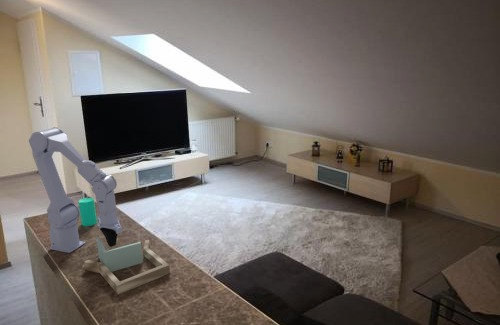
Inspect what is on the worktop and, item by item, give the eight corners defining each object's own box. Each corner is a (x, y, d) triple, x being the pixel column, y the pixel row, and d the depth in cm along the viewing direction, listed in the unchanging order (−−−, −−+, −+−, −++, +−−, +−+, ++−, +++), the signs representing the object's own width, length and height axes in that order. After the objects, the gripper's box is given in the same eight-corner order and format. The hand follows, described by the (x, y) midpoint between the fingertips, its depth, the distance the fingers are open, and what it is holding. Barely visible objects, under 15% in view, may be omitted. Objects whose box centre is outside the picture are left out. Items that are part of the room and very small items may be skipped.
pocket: (85, 269, 124) (83, 261, 123) (149, 246, 138) (148, 239, 137) (108, 298, 109) (107, 289, 108) (177, 269, 123) (177, 261, 122)
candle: (93, 226, 156) (89, 199, 153) (79, 226, 157) (75, 199, 153) (99, 220, 162) (95, 193, 159) (85, 220, 162) (81, 194, 159)
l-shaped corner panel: (143, 262, 128) (140, 242, 126) (106, 273, 122) (103, 252, 120) (133, 248, 138) (131, 229, 136) (99, 257, 132) (96, 238, 130)
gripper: (87, 208, 133) (92, 243, 137) (106, 219, 123) (111, 256, 127) (106, 202, 138) (110, 236, 142) (126, 213, 128) (130, 248, 132)
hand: (112, 245), depth 135 cm, fingers closed
